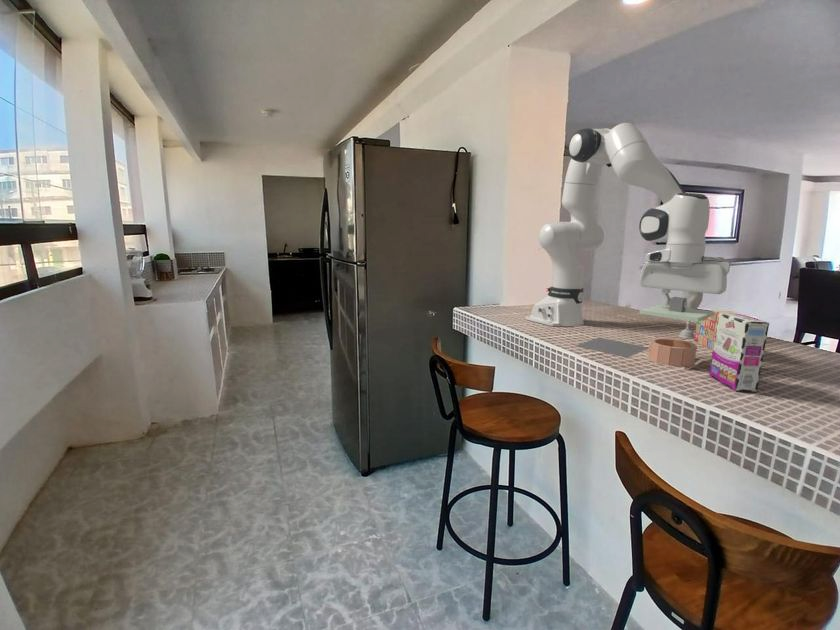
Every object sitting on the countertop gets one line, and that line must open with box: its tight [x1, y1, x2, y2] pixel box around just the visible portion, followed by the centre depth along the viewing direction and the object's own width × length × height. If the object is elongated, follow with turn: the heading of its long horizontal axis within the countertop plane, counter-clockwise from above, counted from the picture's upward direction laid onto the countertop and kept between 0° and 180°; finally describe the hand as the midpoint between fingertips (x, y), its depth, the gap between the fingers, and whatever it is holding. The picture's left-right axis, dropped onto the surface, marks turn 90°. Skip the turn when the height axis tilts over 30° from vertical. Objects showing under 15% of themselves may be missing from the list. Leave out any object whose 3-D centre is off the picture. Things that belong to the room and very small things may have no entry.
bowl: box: [647, 337, 698, 369], centre depth 118 cm, size 11×11×6 cm
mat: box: [574, 337, 649, 358], centre depth 131 cm, size 16×16×1 cm
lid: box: [638, 296, 715, 323], centre depth 115 cm, size 14×14×4 cm
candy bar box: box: [709, 313, 770, 393], centre depth 100 cm, size 11×5×16 cm, turn 174°
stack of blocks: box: [694, 309, 751, 350], centre depth 130 cm, size 21×6×12 cm, turn 169°
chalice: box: [678, 291, 704, 340], centre depth 145 cm, size 7×7×18 cm
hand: (677, 306), depth 115 cm, fingers closed on lid, 3 cm apart
